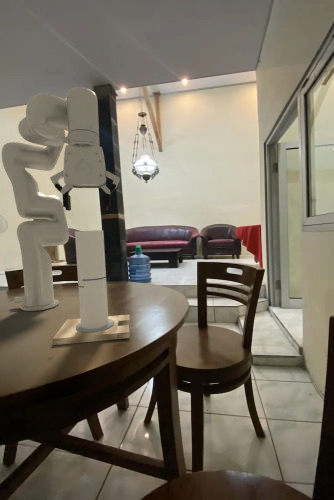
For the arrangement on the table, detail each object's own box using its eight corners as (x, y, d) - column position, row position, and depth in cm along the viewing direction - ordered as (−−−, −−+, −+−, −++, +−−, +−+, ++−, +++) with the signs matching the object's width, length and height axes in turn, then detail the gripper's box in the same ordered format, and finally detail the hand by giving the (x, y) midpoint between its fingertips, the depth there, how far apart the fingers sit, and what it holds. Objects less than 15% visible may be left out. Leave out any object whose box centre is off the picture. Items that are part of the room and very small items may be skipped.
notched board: (52, 345, 62) (52, 337, 62) (67, 324, 76) (66, 318, 75) (129, 338, 64) (129, 330, 64) (129, 319, 78) (129, 313, 78)
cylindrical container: (101, 329, 66) (95, 230, 64) (75, 328, 67) (69, 231, 65) (112, 319, 73) (107, 230, 71) (89, 319, 74) (83, 231, 72)
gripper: (43, 136, 62) (48, 209, 63) (117, 138, 64) (120, 208, 65) (53, 146, 69) (56, 211, 71) (119, 147, 71) (121, 210, 73)
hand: (87, 210), depth 68 cm, fingers open, 9 cm apart
